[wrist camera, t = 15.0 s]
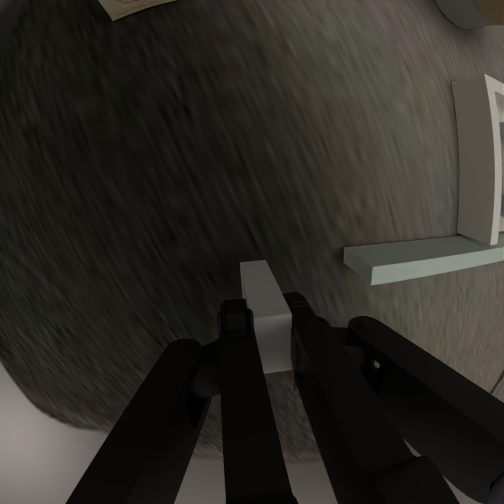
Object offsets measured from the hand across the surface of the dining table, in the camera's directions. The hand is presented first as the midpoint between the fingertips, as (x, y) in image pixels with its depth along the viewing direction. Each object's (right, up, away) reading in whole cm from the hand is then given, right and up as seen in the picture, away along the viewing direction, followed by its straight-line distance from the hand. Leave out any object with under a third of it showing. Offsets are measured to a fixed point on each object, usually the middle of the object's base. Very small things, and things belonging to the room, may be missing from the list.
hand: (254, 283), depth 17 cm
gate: (+17, +3, +5) cm, 17 cm away
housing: (+26, +11, +3) cm, 28 cm away
